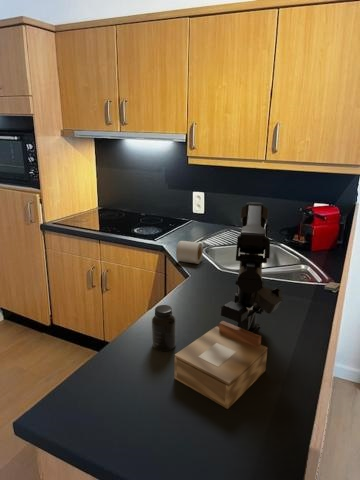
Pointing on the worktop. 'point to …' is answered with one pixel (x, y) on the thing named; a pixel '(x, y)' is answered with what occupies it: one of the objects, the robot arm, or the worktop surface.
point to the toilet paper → (189, 252)
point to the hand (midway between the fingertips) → (246, 329)
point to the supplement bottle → (163, 328)
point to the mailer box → (215, 387)
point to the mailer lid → (223, 352)
